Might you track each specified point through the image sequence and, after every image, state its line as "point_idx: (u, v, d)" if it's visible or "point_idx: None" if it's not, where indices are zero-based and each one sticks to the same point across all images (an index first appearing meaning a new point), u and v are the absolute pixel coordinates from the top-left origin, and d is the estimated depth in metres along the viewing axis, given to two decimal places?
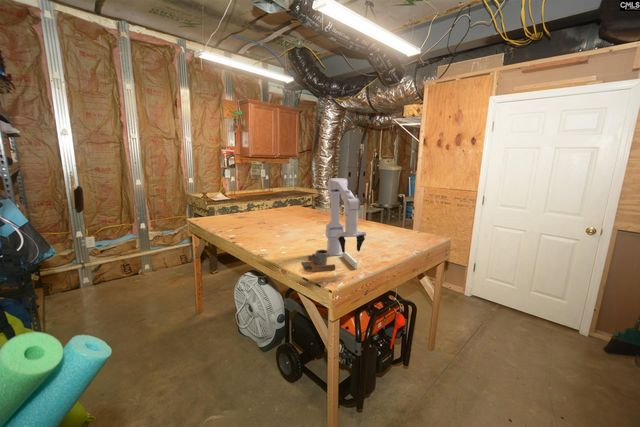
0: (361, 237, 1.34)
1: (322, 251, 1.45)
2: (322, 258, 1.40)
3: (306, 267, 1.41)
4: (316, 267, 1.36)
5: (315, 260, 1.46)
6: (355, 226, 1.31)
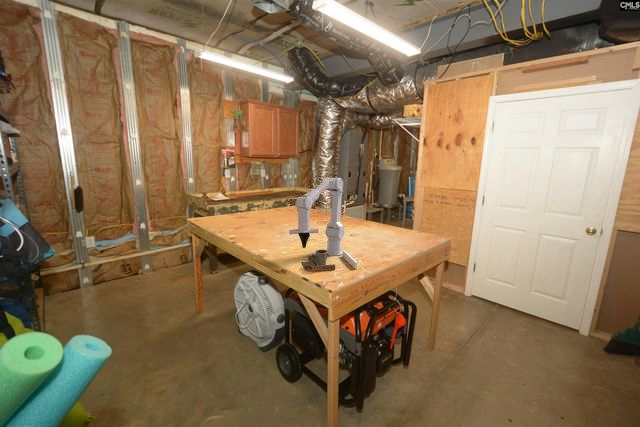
0: (306, 234, 1.39)
1: (322, 251, 1.45)
2: (321, 257, 1.40)
3: (306, 267, 1.41)
4: (316, 267, 1.36)
5: (315, 260, 1.47)
6: (306, 223, 1.38)
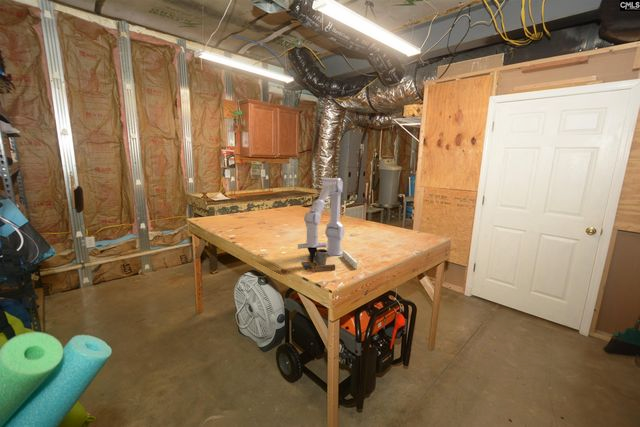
0: (313, 249, 1.41)
1: (322, 250, 1.45)
2: (322, 257, 1.41)
3: (306, 267, 1.41)
4: (316, 267, 1.36)
5: (314, 259, 1.47)
6: (315, 238, 1.40)
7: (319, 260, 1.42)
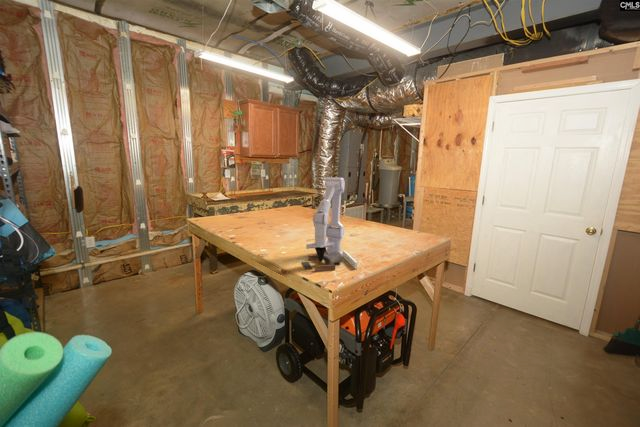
0: (323, 248, 1.43)
1: None
2: (337, 257, 1.46)
3: (306, 267, 1.41)
4: (316, 267, 1.36)
5: (324, 254, 1.48)
6: (323, 238, 1.41)
7: (333, 256, 1.45)
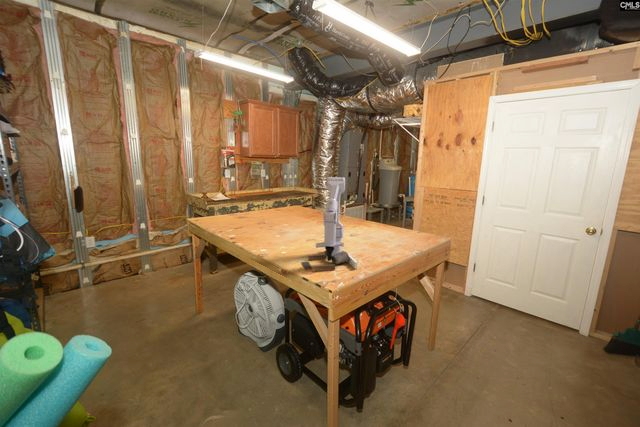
0: (331, 247, 1.44)
1: None
2: (344, 257, 1.46)
3: (306, 267, 1.41)
4: (316, 267, 1.36)
5: None
6: (333, 237, 1.42)
7: (340, 256, 1.46)
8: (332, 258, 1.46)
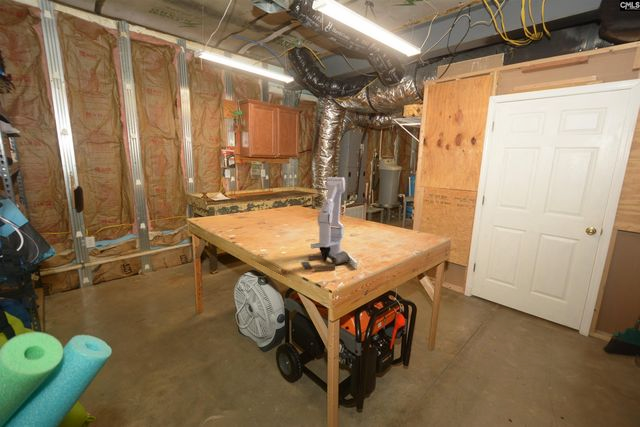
0: (327, 248, 1.43)
1: None
2: (344, 257, 1.46)
3: (306, 267, 1.41)
4: (316, 267, 1.36)
5: (331, 253, 1.49)
6: (328, 238, 1.41)
7: (340, 256, 1.46)
8: (332, 258, 1.46)
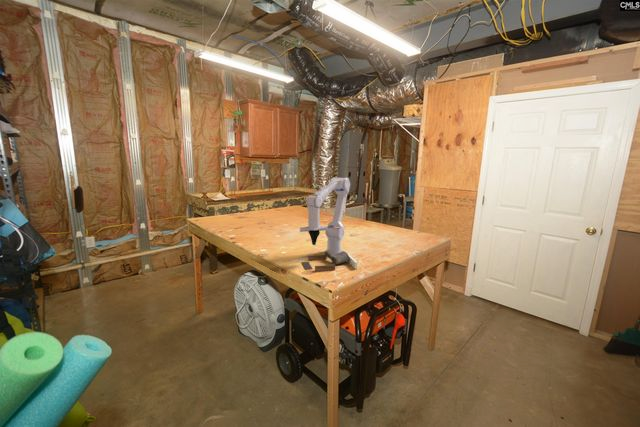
0: (316, 231, 1.45)
1: None
2: (344, 257, 1.46)
3: (306, 267, 1.41)
4: (316, 267, 1.36)
5: (331, 253, 1.49)
6: (317, 221, 1.43)
7: (340, 256, 1.46)
8: (332, 258, 1.46)
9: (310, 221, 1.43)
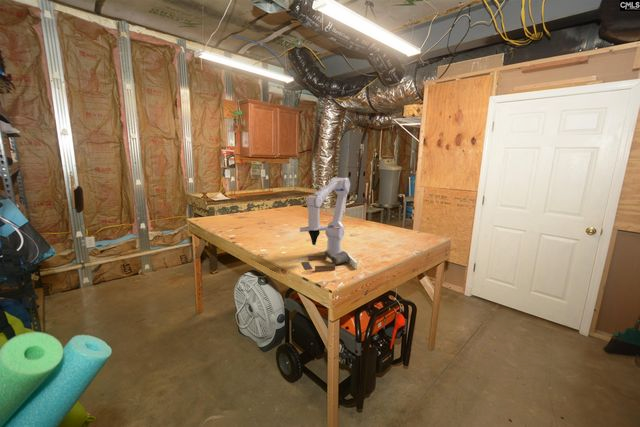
0: (316, 231, 1.45)
1: None
2: (344, 257, 1.46)
3: (306, 267, 1.41)
4: (316, 267, 1.36)
5: (331, 253, 1.49)
6: (317, 221, 1.43)
7: (340, 256, 1.46)
8: (332, 258, 1.46)
9: (310, 221, 1.43)
